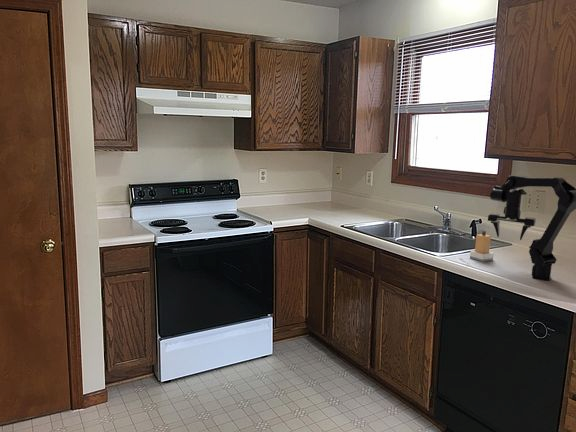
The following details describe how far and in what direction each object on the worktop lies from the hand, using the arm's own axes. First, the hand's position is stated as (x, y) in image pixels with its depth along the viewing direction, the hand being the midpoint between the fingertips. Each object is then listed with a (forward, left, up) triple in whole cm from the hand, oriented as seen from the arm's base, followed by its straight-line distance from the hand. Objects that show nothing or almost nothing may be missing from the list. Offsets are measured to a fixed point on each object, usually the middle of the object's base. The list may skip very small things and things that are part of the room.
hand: (509, 238), depth 213 cm
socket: (+12, -7, -13) cm, 19 cm away
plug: (+12, -7, -12) cm, 18 cm away
